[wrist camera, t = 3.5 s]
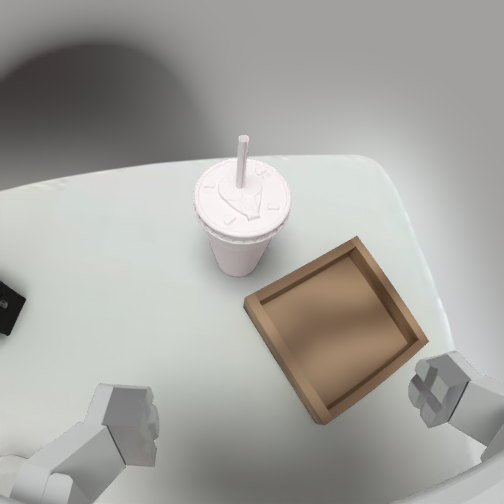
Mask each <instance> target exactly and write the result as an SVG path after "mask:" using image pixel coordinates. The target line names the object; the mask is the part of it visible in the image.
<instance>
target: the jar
mask: <svg viewBox="0 0 504 504" xmlns="http://www.w3.org/2000/svg"><path fill="white" fill-rule="evenodd" d="M25 460H27V459H26V458H22V457H19V456H15V455H9V456H0V494H2V495H4V496H6V497H9V496H10V493H11V491H12V488H13V485H14V483H15V480H16V477H17V475H18V472H19V470H20V467H21V465H22V462H24V461H25Z"/></svg>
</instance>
